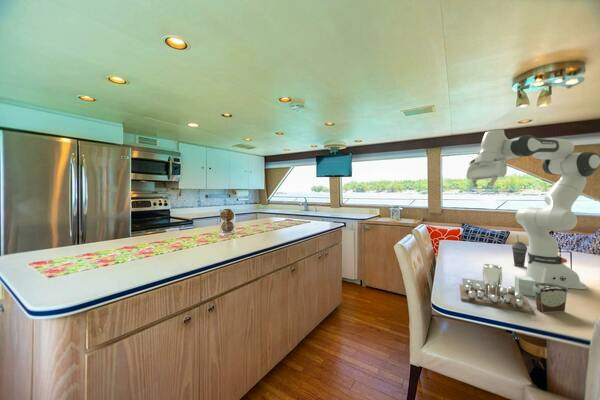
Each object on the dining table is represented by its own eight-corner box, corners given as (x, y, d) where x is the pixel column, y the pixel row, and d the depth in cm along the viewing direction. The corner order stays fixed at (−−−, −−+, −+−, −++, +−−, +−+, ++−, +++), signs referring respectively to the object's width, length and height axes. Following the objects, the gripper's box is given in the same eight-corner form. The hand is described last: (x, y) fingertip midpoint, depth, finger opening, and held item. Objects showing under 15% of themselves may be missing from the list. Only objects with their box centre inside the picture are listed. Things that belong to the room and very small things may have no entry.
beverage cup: (521, 268, 150) (522, 236, 149) (508, 265, 157) (509, 234, 156) (529, 267, 152) (530, 235, 151) (516, 264, 159) (517, 233, 158)
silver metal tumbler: (505, 302, 106) (506, 269, 106) (487, 301, 108) (487, 268, 107) (496, 295, 113) (496, 264, 112) (479, 294, 114) (479, 263, 114)
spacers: (517, 296, 112) (517, 287, 112) (527, 312, 98) (527, 302, 97) (464, 287, 123) (464, 279, 123) (465, 301, 108) (465, 292, 108)
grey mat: (491, 282, 129) (491, 282, 129) (495, 291, 118) (495, 290, 118) (462, 278, 135) (462, 278, 135) (463, 285, 125) (463, 285, 125)
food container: (551, 304, 104) (552, 281, 103) (568, 311, 98) (568, 287, 97) (524, 305, 103) (524, 282, 103) (538, 312, 97) (539, 288, 97)
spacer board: (522, 296, 112) (522, 294, 112) (533, 314, 96) (533, 311, 96) (459, 286, 124) (459, 284, 124) (461, 300, 109) (461, 298, 109)
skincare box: (530, 291, 117) (530, 276, 117) (535, 296, 112) (536, 281, 111) (514, 289, 120) (514, 274, 119) (518, 294, 114) (519, 279, 114)
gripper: (513, 158, 113) (507, 187, 113) (477, 165, 134) (471, 189, 133) (501, 154, 113) (495, 183, 112) (466, 162, 133) (461, 186, 133)
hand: (482, 186), depth 123 cm, fingers open, 8 cm apart
